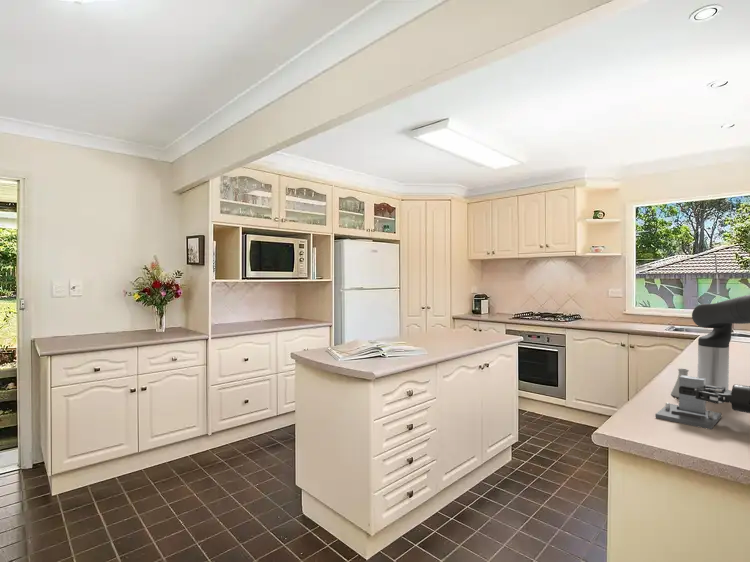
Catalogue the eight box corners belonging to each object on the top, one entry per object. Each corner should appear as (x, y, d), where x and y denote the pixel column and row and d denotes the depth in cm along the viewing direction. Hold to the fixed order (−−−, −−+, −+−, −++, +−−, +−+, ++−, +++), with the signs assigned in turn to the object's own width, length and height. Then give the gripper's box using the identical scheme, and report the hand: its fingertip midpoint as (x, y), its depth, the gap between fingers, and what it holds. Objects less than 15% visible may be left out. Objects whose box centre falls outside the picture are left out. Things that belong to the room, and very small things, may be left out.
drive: (679, 409, 131) (679, 376, 131) (681, 406, 133) (682, 375, 133) (703, 413, 127) (703, 380, 127) (705, 411, 129) (705, 378, 129)
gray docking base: (655, 417, 130) (655, 407, 130) (668, 407, 141) (669, 397, 141) (711, 429, 120) (711, 418, 120) (721, 417, 131) (721, 406, 131)
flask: (699, 400, 150) (699, 371, 150) (676, 398, 151) (676, 370, 151) (688, 394, 157) (689, 367, 157) (666, 393, 158) (667, 366, 158)
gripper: (757, 383, 124) (686, 373, 137) (751, 391, 115) (675, 380, 127) (757, 408, 124) (685, 396, 137) (751, 419, 115) (675, 405, 127)
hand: (681, 388), depth 132 cm, fingers closed on drive, 3 cm apart
